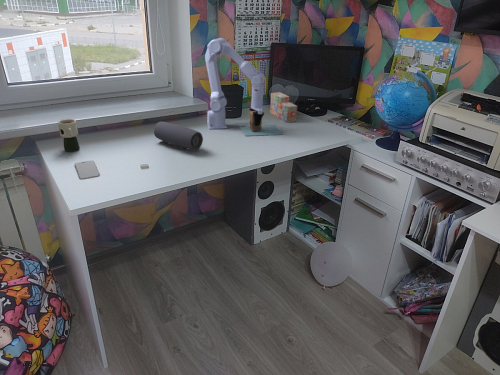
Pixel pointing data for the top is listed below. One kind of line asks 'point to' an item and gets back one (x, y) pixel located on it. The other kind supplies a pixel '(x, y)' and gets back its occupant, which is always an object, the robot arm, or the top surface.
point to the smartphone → (86, 170)
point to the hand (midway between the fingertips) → (256, 123)
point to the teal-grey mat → (261, 131)
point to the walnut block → (252, 123)
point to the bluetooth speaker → (178, 136)
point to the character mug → (69, 134)
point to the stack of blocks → (283, 107)
